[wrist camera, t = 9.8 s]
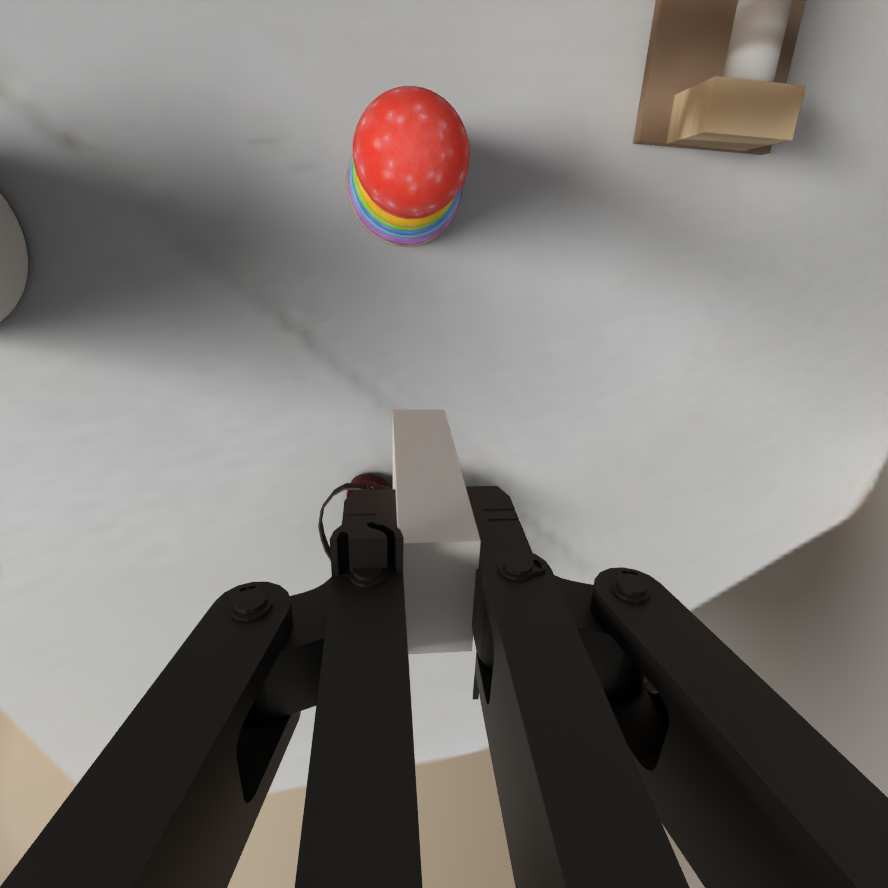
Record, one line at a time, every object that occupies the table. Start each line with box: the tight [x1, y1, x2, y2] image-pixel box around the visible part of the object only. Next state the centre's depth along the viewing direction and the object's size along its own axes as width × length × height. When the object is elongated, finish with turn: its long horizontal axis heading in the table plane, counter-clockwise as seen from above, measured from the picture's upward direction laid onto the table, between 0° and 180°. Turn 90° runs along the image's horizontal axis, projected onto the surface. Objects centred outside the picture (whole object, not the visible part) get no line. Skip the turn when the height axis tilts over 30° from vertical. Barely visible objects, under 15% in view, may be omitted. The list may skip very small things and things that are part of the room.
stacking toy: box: [347, 86, 470, 247], centre depth 31 cm, size 8×8×19 cm
